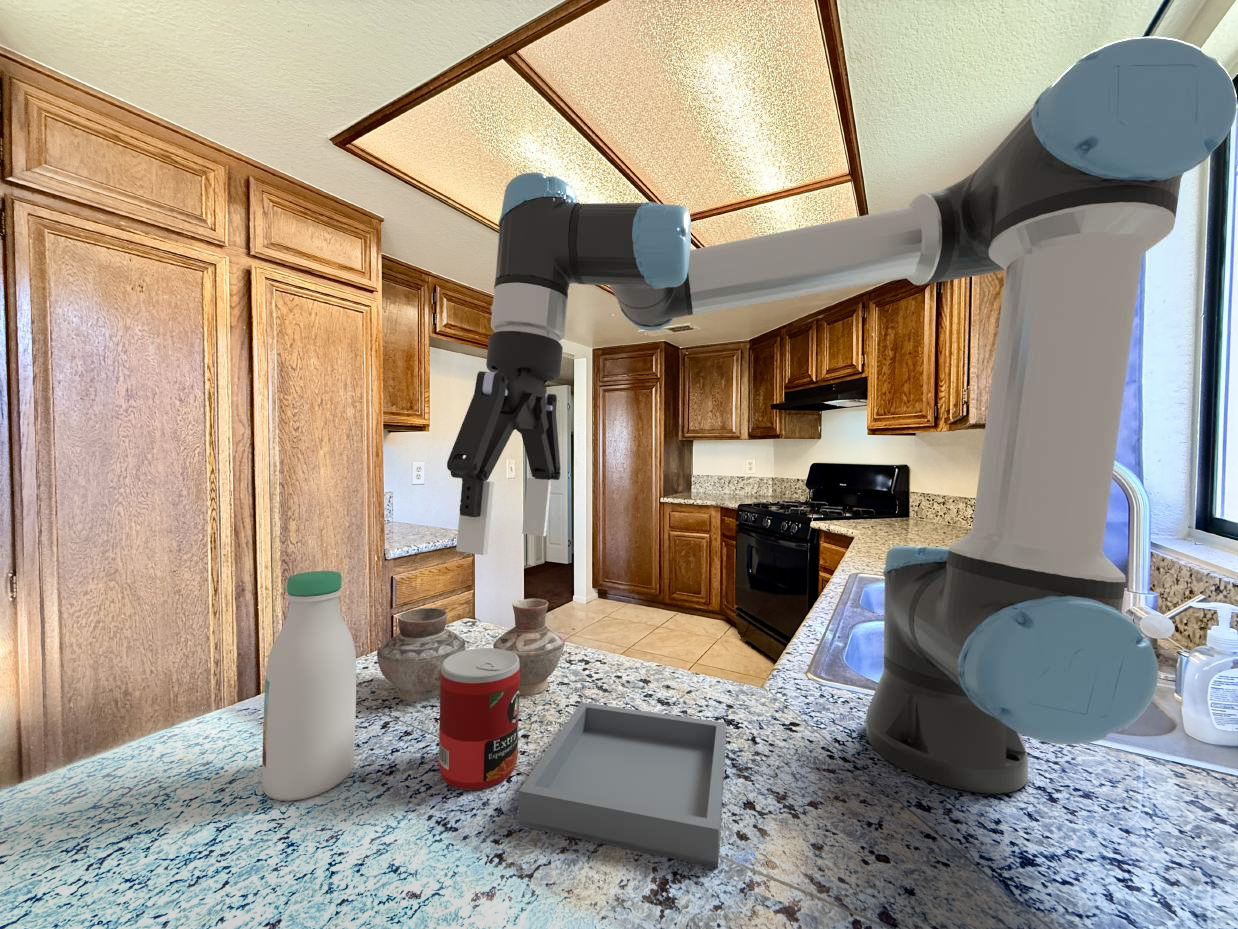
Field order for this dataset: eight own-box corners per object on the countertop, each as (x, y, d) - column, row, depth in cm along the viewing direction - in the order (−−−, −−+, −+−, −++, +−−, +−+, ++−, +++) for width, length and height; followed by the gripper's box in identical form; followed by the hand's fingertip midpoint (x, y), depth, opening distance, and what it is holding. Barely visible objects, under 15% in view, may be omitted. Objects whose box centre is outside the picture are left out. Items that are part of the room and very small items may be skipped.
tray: (725, 749, 55) (726, 722, 55) (718, 868, 39) (718, 829, 39) (580, 727, 59) (581, 702, 59) (517, 825, 43) (518, 790, 43)
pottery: (565, 704, 65) (567, 613, 66) (363, 715, 61) (365, 618, 61) (561, 669, 77) (563, 592, 77) (389, 677, 72) (391, 595, 73)
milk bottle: (371, 762, 51) (376, 569, 52) (306, 811, 44) (312, 586, 44) (312, 749, 54) (317, 564, 54) (240, 794, 46) (246, 579, 46)
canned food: (498, 798, 46) (501, 680, 47) (421, 785, 48) (424, 671, 48) (529, 752, 54) (531, 651, 54) (462, 742, 56) (464, 644, 56)
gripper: (541, 362, 64) (525, 525, 64) (418, 294, 40) (392, 556, 40) (596, 365, 62) (580, 533, 62) (502, 295, 38) (475, 570, 38)
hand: (506, 542), depth 51 cm, fingers open, 13 cm apart
